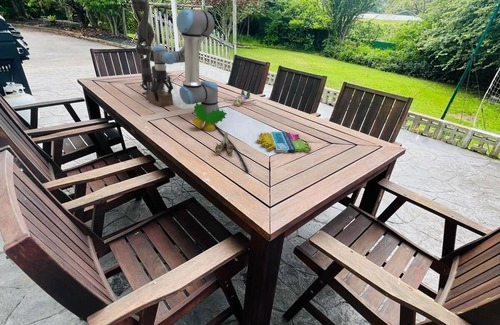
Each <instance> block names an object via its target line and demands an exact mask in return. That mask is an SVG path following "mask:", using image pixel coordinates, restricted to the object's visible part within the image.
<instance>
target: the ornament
mask: <svg viewBox="0 0 500 325" xmlns="http://www.w3.org/2000/svg"><path fill="white" fill-rule="evenodd" d="M219 110H220V108H219V109H217V110H216V111H214V110H212V112H211V113H208V112H206V109H204V106H201V103H197V102H196V104H195V105H194V106H193V112H194V113H195V118H192V119H191V122H192V123H193V125H195V127H197V128H198V129H202V130H203V131H206V132H212V131H213V132H214V131H215V130H216V127H215V126H214V124H213V123H215V124H218V123H219V122H223V119H226V115H227V114H228V113H227V112H224V110H223V109H221V110H220V111H219ZM207 113H208V115H207Z"/></svg>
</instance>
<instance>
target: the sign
mask: <svg viewBox="0 0 500 325" xmlns="http://www.w3.org/2000/svg"><path fill="white" fill-rule="evenodd" d="M299 136H300V135H299V134H298V133H296V134H294V133H291V132H287V131H270V132H264V133H263V132H260V133H259V139H258V138H257V139H256V143H257V144H261V148H263V147H264V148H265V149H267V151H268V152H271V151H272V150H273V149H275V152H276V153H283V154H285V153H287V154H288V153H290V154H293V153H296V152H298V153H301V152H305V153H310V151H311V150H312V149H311V148H312V146H309V142H304V141H303V139H302V138H299Z"/></svg>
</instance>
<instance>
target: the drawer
mask: <svg viewBox="0 0 500 325" xmlns="http://www.w3.org/2000/svg"><path fill="white" fill-rule="evenodd" d="M149 91H151V90H149ZM141 94H142V95H143V96H145V99H146V100H149V95H148V91H146V90H144V92H142V93H141Z"/></svg>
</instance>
